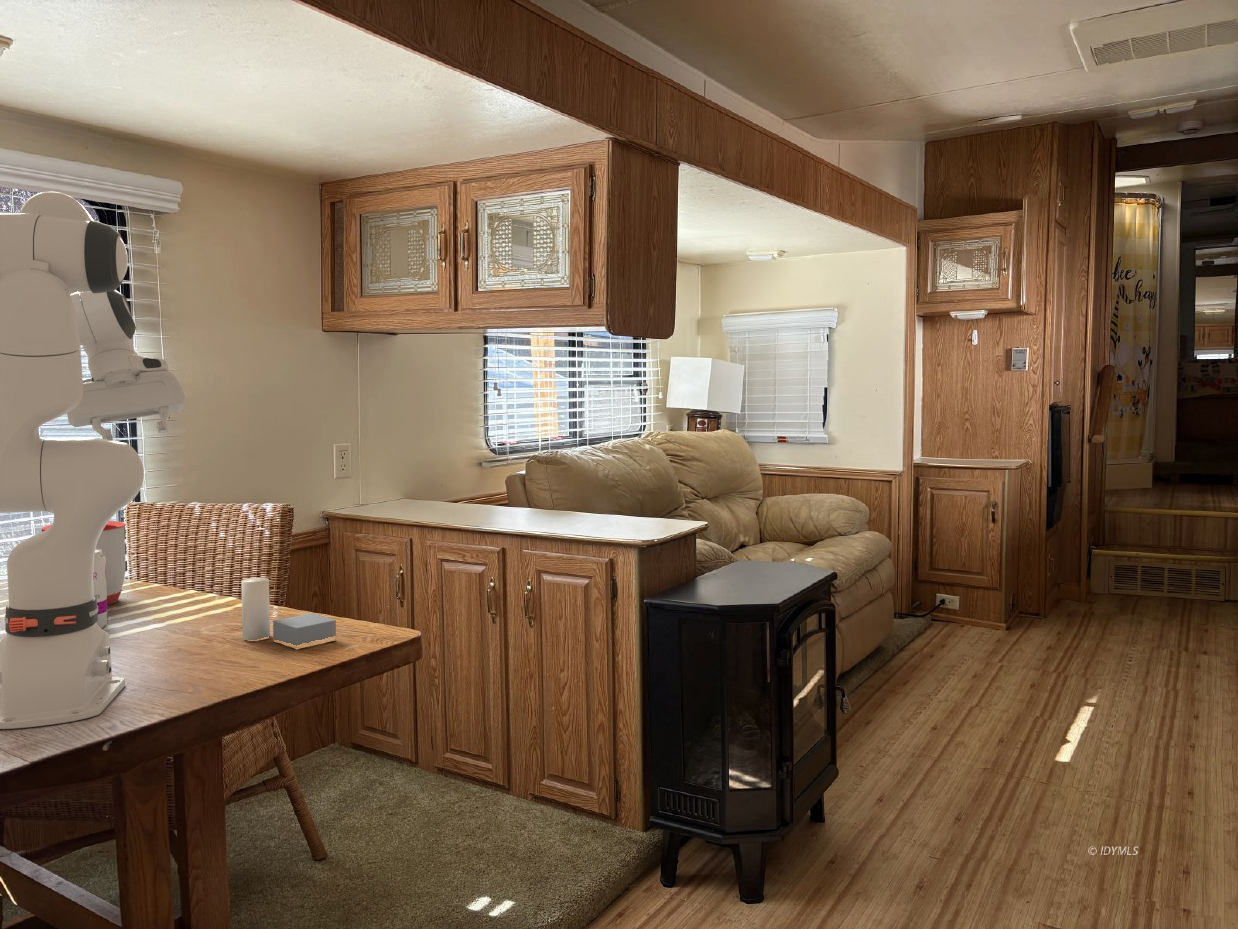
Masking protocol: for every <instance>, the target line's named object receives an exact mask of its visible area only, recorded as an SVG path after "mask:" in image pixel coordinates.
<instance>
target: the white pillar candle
mask: <svg viewBox="0 0 1238 929" xmlns="http://www.w3.org/2000/svg"><path fill="white" fill-rule="evenodd" d="M240 583H241V621H242V623H241V624H242V626H241V627H242V630H241V631H242V640H243V639H245V640H257V639H261V638H264V637H268V636H270V637H271V621H270V620H271V616H270V614H271V613H270V610H271V609H270V579H269V578H267V577H250V578H244V579H242V580H241V581H240Z"/></svg>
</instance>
